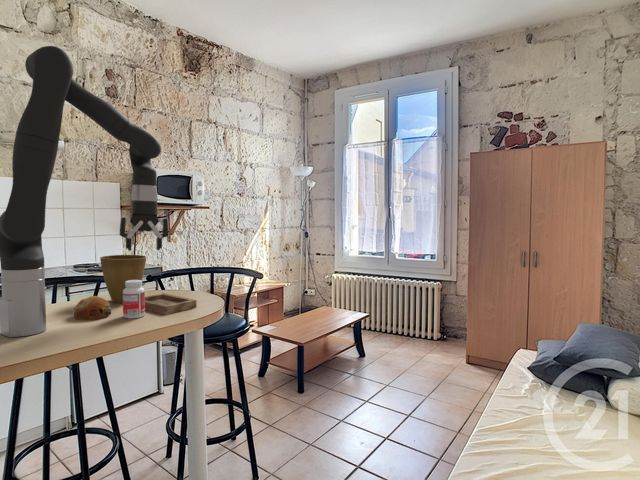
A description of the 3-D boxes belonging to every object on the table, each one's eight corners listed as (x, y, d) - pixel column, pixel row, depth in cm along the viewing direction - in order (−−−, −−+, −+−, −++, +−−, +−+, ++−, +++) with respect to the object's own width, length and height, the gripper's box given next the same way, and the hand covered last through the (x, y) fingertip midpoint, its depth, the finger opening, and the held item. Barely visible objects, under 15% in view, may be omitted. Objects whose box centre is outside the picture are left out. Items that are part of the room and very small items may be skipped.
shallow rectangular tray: (165, 314, 127) (165, 306, 127) (132, 306, 137) (132, 298, 136) (196, 307, 137) (196, 300, 137) (163, 299, 147) (163, 293, 146)
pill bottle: (138, 312, 128) (137, 278, 128) (149, 315, 125) (148, 280, 124) (119, 316, 123) (118, 281, 123) (129, 320, 120) (129, 283, 119)
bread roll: (102, 322, 130) (95, 299, 131) (121, 312, 126) (113, 288, 126) (72, 330, 121) (64, 305, 122) (91, 320, 117) (83, 294, 118)
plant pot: (130, 306, 136) (129, 259, 135) (91, 304, 138) (90, 258, 137) (155, 297, 151) (154, 255, 149) (119, 295, 153) (118, 253, 152)
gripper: (121, 198, 122) (121, 251, 123) (170, 200, 130) (169, 250, 130) (118, 198, 128) (118, 249, 129) (165, 201, 136) (164, 248, 137)
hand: (144, 250), depth 130 cm, fingers open, 8 cm apart
